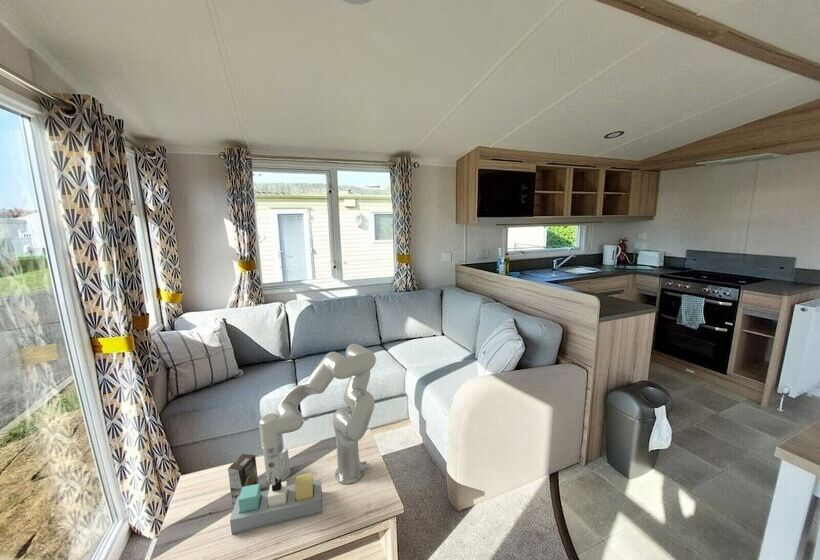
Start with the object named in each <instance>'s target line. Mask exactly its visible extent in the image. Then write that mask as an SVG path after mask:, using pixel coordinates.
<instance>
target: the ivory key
mask: <svg viewBox="0 0 820 560" xmlns="http://www.w3.org/2000/svg"><path fill="white" fill-rule="evenodd" d="M281 485H282V487H281V490H277V491H272V483H271V484H270V485H269V489H268V490H269V493H268V504H269V507H273V506H277V505H282V504H286V503H287V500H288V487H287V486H288V481H287V480H285V481H282V482H281Z"/></svg>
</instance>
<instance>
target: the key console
mask: <svg viewBox="0 0 820 560" xmlns="http://www.w3.org/2000/svg"><path fill="white" fill-rule="evenodd" d="M295 484H296V483H295ZM295 484H291V485H287V487H288V500H287V503H286V504H282V505H277V506H273V507H269V504H268V493H269V489H266V490H262V491H261V490H260V491H261V503H260V507H259V510H255V511H250V512H246V513H241V514H240V508H239V501H238V500H239V496H238V497H237V500H236V503H234V506H233V510H232V513H231V516H230V518H229V524H230V530H231V535H237V534H241V533H245V532H249V531H254V530H258V529H263V528H267V527H271V526H274V525H279V524H283V523H287V522H293V521H296V520H301V519H305V518H309V517H314V516H317V515H323V514H322V512H323V510H322V509H323V502H322V500H323V489H322V488H323V487H322V478H319V479H315V480H314V479H313V485H314V494H313V498H309V499H304V500H300V501H296V492H295Z"/></svg>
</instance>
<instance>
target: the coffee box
mask: <svg viewBox="0 0 820 560" xmlns="http://www.w3.org/2000/svg"><path fill="white" fill-rule="evenodd" d="M257 468H258V467H257V459H256V455H254V454H249V453H248V454H247V453H246V454H245V453H242V454H241V455H240V456H239V457H238V458H237V459H236V460H235V461H234V462H233V463H232V464H231V465H230V466H229V467H228V469H227V472H228V479H229V480H228V481H229V489H230V497H231V503H232V504H235V503H236V500H237V497H238V496H240V493H241V490H242V487H245V486H250V485H255V484H260V483H259V477H258V469H257Z"/></svg>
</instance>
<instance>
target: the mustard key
mask: <svg viewBox="0 0 820 560" xmlns="http://www.w3.org/2000/svg"><path fill="white" fill-rule="evenodd" d="M295 477H296V478H295V492H296V501H300V500H304V499H309V498H313V494H314V485H313V480H314V475H313V472H311V473H305V474H299V475H296V476H295Z"/></svg>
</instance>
